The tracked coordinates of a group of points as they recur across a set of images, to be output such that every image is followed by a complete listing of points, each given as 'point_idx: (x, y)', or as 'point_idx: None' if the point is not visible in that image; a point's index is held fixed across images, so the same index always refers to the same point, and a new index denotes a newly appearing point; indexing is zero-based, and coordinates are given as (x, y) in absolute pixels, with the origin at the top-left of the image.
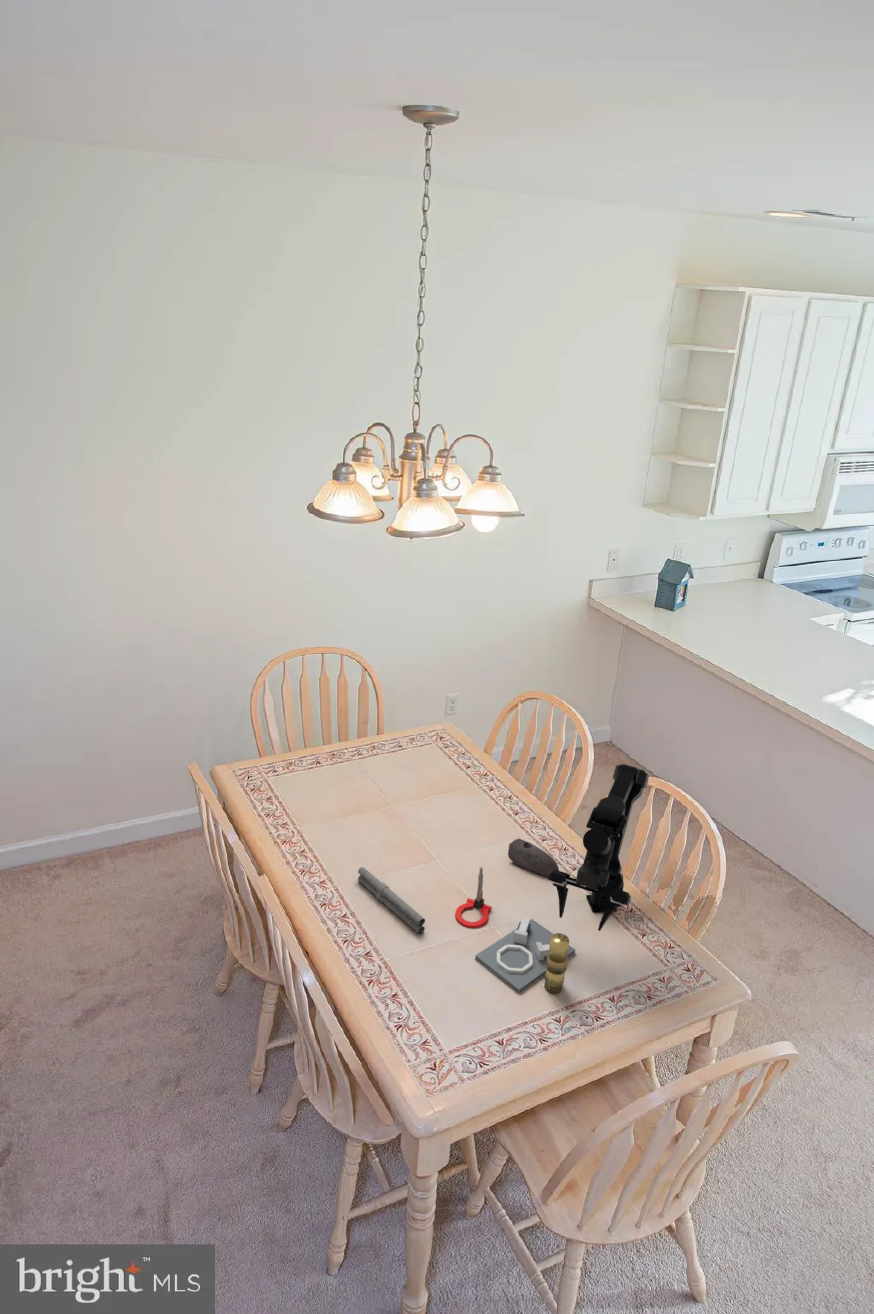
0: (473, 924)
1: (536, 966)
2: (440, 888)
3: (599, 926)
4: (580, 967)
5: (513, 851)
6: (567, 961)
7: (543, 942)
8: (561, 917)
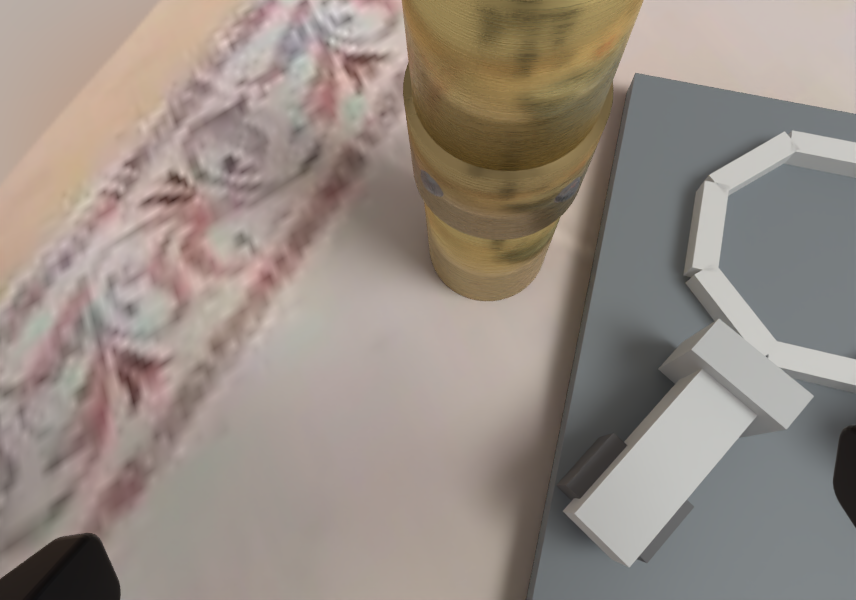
0: None
1: (663, 297)
2: None
3: (36, 583)
4: (416, 523)
5: None
6: (421, 177)
7: (774, 566)
8: (842, 464)
